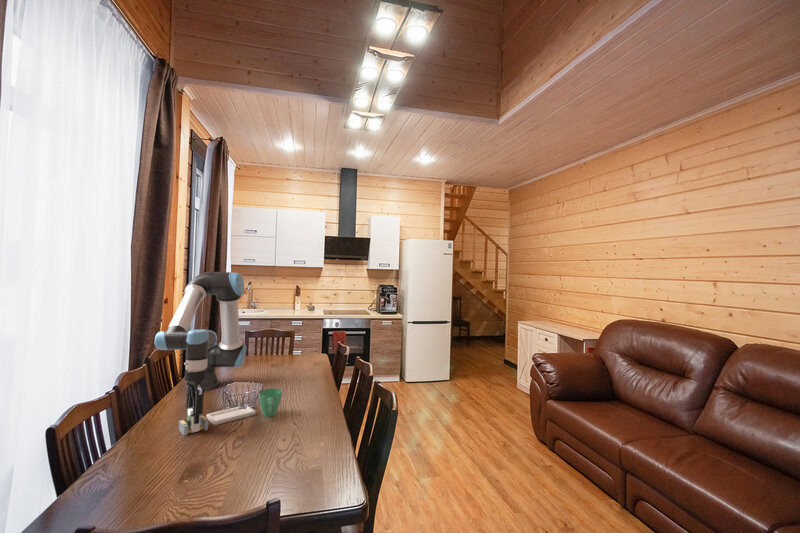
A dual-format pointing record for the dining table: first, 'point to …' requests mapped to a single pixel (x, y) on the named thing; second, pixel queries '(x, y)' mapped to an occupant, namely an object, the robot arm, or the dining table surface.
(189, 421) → the cell
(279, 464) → the dining table surface
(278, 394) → the mug
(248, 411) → the tray
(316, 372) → the dining table surface
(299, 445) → the dining table surface
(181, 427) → the cradle
